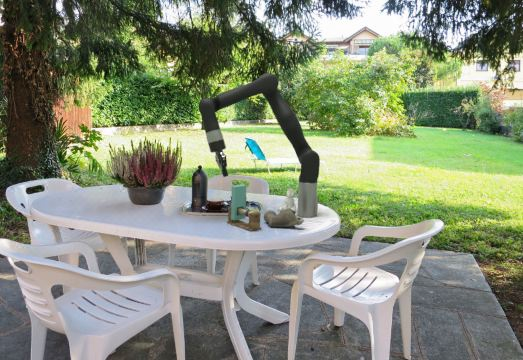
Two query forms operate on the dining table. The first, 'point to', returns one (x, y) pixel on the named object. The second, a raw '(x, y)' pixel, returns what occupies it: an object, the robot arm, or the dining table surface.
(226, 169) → the robot arm
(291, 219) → the pipe
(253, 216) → the wooden dowel plank
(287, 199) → the seated beast figurine
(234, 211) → the teal flat board
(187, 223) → the dining table surface
